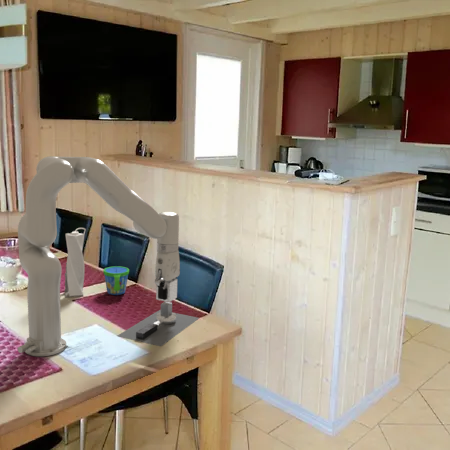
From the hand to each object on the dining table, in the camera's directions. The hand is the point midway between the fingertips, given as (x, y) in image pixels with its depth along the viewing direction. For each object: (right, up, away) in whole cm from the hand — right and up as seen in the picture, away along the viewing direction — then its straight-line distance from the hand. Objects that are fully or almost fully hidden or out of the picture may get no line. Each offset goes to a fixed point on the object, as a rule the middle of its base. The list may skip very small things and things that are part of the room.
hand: (166, 296), depth 184 cm
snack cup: (-25, -3, +33) cm, 41 cm away
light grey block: (0, -1, 0) cm, 1 cm away
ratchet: (-3, -11, -4) cm, 12 cm away
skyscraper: (-41, -3, +29) cm, 50 cm away
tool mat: (-2, -11, -3) cm, 12 cm away
